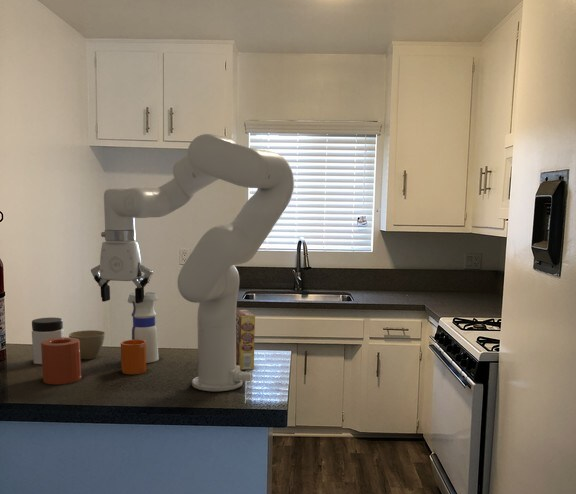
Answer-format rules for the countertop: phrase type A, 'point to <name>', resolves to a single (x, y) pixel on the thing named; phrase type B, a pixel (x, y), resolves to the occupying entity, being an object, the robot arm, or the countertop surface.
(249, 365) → the candy box
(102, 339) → the beige bowl
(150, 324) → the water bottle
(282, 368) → the countertop surface
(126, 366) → the orange cup
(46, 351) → the terracotta jar
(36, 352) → the jar
